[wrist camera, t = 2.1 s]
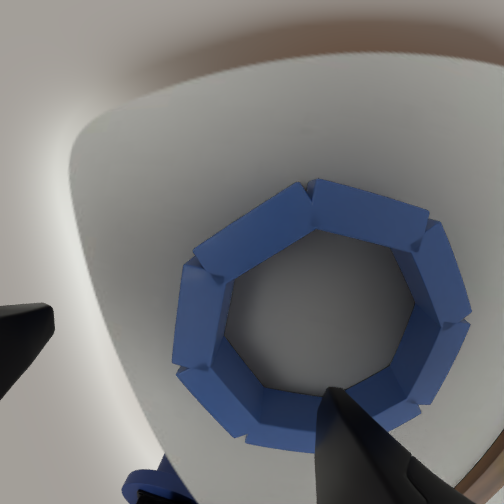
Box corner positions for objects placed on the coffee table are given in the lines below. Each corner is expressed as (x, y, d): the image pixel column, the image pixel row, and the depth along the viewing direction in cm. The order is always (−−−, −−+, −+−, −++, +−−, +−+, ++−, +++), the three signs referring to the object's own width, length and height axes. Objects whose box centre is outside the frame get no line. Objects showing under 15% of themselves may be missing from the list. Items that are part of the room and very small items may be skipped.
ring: (183, 389, 15) (166, 423, 12) (219, 162, 12) (202, 154, 9) (383, 423, 14) (395, 456, 11) (464, 227, 11) (499, 237, 9)
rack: (406, 529, 17) (417, 577, 10) (524, 397, 13) (570, 451, 6) (456, 517, 17) (470, 558, 10) (562, 391, 12) (600, 431, 5)
